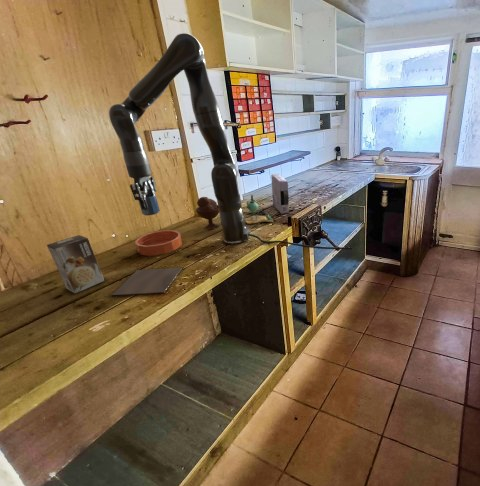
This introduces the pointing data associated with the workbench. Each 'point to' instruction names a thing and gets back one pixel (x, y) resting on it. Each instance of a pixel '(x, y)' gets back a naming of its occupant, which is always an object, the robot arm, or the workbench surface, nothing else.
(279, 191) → the cake pan box
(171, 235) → the terracotta bowl
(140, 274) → the walnut mat
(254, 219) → the frog figurine
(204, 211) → the ice cream bowl
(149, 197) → the blue cup
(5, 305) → the workbench surface
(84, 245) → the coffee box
